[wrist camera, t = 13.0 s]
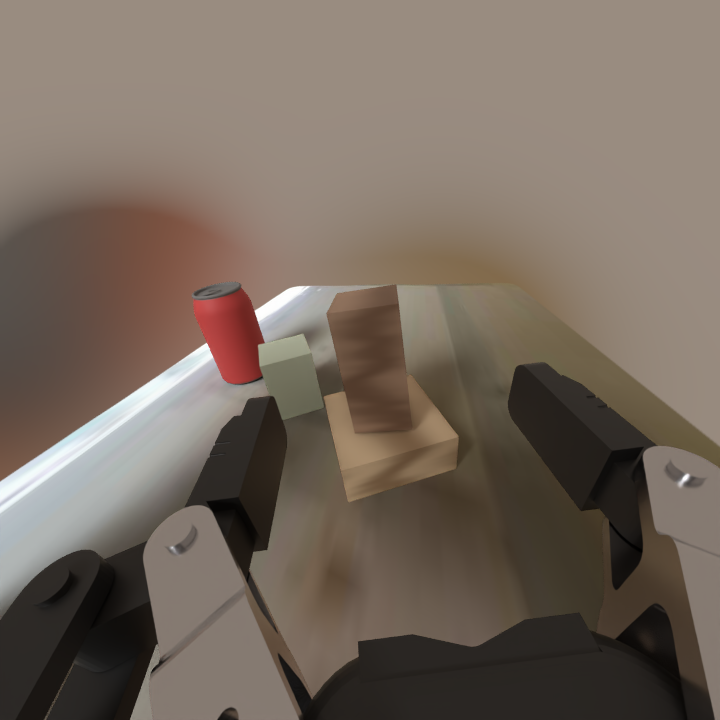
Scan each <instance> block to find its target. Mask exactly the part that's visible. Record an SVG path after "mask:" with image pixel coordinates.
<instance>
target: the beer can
mask: <svg viewBox="0 0 720 720" xmlns="http://www.w3.org/2000/svg"><path fill="white" fill-rule="evenodd" d="M192 298H194V312H195V317H196V319H197V321H198V324H199V326H200V328H201V330H202V333H203V335H204V337H205V339H206V341H207V344H208V346H209V348H210V351H211V353H212V355H213V357H214V360H215V362H216V364H217V366H218V369H219V371H220V373H221V375H222V378H223V379H224V380H225V381H226V382H228V383H231V384H245V383H250V382H252V381H255V380H257V379H259V378H261V377H262V376H263V375H262V372H261V369H260V366H259V350H258V345H260V344H264V343H265V342H264V339H263V336H262V333H261V330H260V327H259V324H258V321H257V318H256V315H255V312H254V309H253V306H252V303H251V300H250V299H249V297H248V295H247V294H246V293H245V292H244V290H243V289H242V288H241V284H240V283H238V282H225V283H219V284H214V285H210V286H207V287H204V288H201V289H199V290H197V291H195V292H194V293H193V294H192Z"/></svg>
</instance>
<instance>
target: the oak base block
mask: <svg viewBox="0 0 720 720" xmlns="http://www.w3.org/2000/svg"><path fill="white" fill-rule="evenodd" d="M407 384H408V393H409V402H410V411H411V420H412V429H409V430H395V431H382V432H369V433H356V434H355V432H354V428H353V424H352V419H351V415H350V411H349V407H348V403H347V398H346V394H345V391H342V392H338V393H334V394H330V395H326V396H323V397H324V401H325V406H326V410H327V414H328V419H329V423H330V427H331V432H332V436H333V440H334V444H335V449H336V453H337V457H338V461H339V466H340V470H341V474H342V478H343V483H344V487H345V491H346V495H347V499H348V502H351V501H354V500H357V499H361V498H364V497H367V496H370V495H374V494H377V493H380V492H383V491H386V490H390V489H393V488H396V487H399V486H402V485H406V484H409V483H412V482H415V481H418V480H422V479H425V478H428V477H431V476H434V475H438V474H441V473H444V472H447V471H450V470H454V469H456V466H457V453H458V441H459V436H458V435H457V434H456V433H455V431H454V430H453V429H452V427H451V426H450V425H449V423H448V422H447V421H446V419H445V418H444V417H443V416H442V414H441V413H440V412H439V410H438V409H437V408H436V406H435V405H434V404H433V403H432V401H431V400H430V399H429V397H428V396H427V395H426V393H425V392H424V391H423V389H422V388H421V387H420V386H419V384H418V383H417V382H416V380H415V379H414V378H413V376H412V375H407Z"/></svg>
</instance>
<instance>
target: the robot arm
mask: <svg viewBox="0 0 720 720" xmlns="http://www.w3.org/2000/svg"><path fill="white" fill-rule="evenodd" d="M508 409H509V413H510V416H511V418H512V420H513V421H514V422H515V424H516V425H517V426H518V428H519V429H520V430H521V432H522V433H523V434H524V436H525V437H526V438H527V440H528V441H529V442H530V444H531V445H532V446H533V448H534V449H535V450H536V452H537V453H538V454H539V456H540V457H541V458H542V460H543V461H544V462H545V464H546V465H547V466H548V468H549V469H550V470H551V472H552V473H553V475H554V476H555V477H556V479H557V480H558V481H559V483H560V484H561V485H562V487H563V488H564V489H565V491H566V492H567V493H568V495H569V496H570V497H571V499H572V500H573V501H574V503H575V504H576V505H577V507H578V508H579V509H580V511H584V510H592V509H599V508H600V510H601V511H602V512H603V513H604V515H605V517H604V519H603V522H602V539H603V571H604V598H603V604H602V607H601V610H600V613H599V618H598V624H597V633H596V632H593V631H589V629H588V627H587V626H586V624H585V622H584V620H583V619H582V617H581V615H580V613H573V614H565V615H558V616H550V617H542V618H535V619H527V620H524V621H522V622H520V623H518V624H517V625H515V626H513V627H511V628H509V629H508V630H506V631H504V632H502V633H501V634H499V635H497V636H495V637H494V638H492V639H490V640H488V641H486V642H485V643H483V644H481V645H479V646H476V647H469V646H464V645H459V644H454V643H450V642H445V641H441V640H436V639H431V638H427V637H422V636H417V635H413V634H412V635H404V636H397V637H389V638H381V639H374V640H366V641H358V650H359V657H357V658H356V659H354V660H352V661H350V662H348V663H347V664H346V665H344V666H343V667H342V668H340V669H339V670H338V671H336V672H335V673H334V674H333V675H332V676H331V677H330V678H329V679H328V680H327V681H326V682H325V683H324V685H323V686H322V687H321V688H320V690H319V691H318V692H317V694H316V695H315V696H314V697H313V695H312V693H311V691H310V689H309V687H308V685H307V683H306V681H305V679H304V677H303V675H302V673H301V671H300V669H299V667H298V665H297V663H296V661H295V659H294V657H293V655H292V654H291V652H290V650H289V648H288V647H287V645H286V643H285V641H284V639H283V637H282V635H281V633H280V631H279V629H278V627H277V625H276V623H275V621H274V619H273V617H272V614H271V612H270V610H269V608H268V606H267V604H266V602H265V600H264V598H263V596H262V594H261V592H260V589H259V587H258V585H257V583H256V581H255V579H254V577H253V575H252V573H251V571H250V569H249V568H250V563H251V559H252V554H253V552H255V551H262V550H267V548H268V543H269V538H270V532H271V527H272V522H273V516H274V511H275V506H276V501H277V495H278V490H279V485H280V480H281V474H282V469H283V464H284V459H285V453H286V448H287V435H286V430H285V426H284V423H283V420H282V417H281V414H280V411H279V408H278V406H277V403H276V400H275V398H274V397H273V396H267V397H259V398H251V399H248V401H247V403H246V405H245V408H244V410H243V412H242V415H241V416H234V417H233V418H232V419H231V420H230V421H229V422H228V423H227V424H226V425H225V426H224V427H223V428H222V429H221V432H220V434H219V436H218V438H217V440H216V442H215V446H213V449H212V451H211V453H210V458H208V459H207V461H206V463H205V466H204V468H203V470H202V472H201V474H200V476H199V478H198V480H197V483H196V485H195V487H194V489H193V491H192V493H191V495H190V497H189V500H188V502H187V504H186V506H185V508H183V509H181V510H179V511H177V512H175V513H174V514H172V515H171V516H169V517H168V518H167V519H166V520H164V521H163V522H162V523H161V524H160V525H159V526H158V527H157V528H156V530H155V531H154V532H153V533H152V535H151V536H150V538H149V540H148V541H146V542H144V543H142V544H139V545H137V546H135V547H132V548H130V549H128V550H125V551H123V552H121V553H118V554H116V555H114V556H111V557H109V558H107V559H103V558H102V557H101V556H99V555H98V554H97V553H96V552H94V551H92V550H80V551H76V552H73V553H70V554H68V555H66V556H64V557H62V558H60V559H58V560H57V561H55V562H54V563H52V564H51V565H49V566H48V567H46V568H45V569H44V570H43V571H41V572H40V573H39V574H38V575H37V576H36V577H35V578H34V579H33V580H31V581H30V583H29V584H28V585H27V586H26V587H25V588H24V589H23V590H22V592H21V593H20V594H19V595H18V597H17V598H16V599H15V601H14V602H13V604H12V605H11V606H10V608H9V609H8V610H7V612H6V613H5V615H4V616H3V617H2V619H1V620H0V720H44V718H45V716H46V714H47V712H48V710H49V708H50V706H51V704H52V702H53V700H54V698H55V697H56V695H57V693H58V691H59V689H60V687H61V685H62V683H63V681H64V679H65V677H66V675H67V673H68V671H69V669H70V667H71V665H72V663H74V666H73V668H72V670H71V672H70V674H69V676H68V678H67V680H66V682H65V684H64V686H63V688H62V690H61V692H60V694H59V696H58V698H57V700H56V702H55V704H54V706H53V708H52V710H51V712H50V714H49V716H48V718H47V720H130V718H131V715H132V712H133V709H134V706H135V703H136V700H137V698H138V695H139V692H140V689H141V686H142V683H143V680H144V678H145V675H146V672H147V669H148V666H149V663H150V660H151V658H152V655H153V652H154V649H155V646H156V645H157V644H158V645H159V651H160V660H159V664H158V665H156V666H155V667H154V668H153V670H152V672H151V675H150V682H149V693H150V702H151V709H152V716H153V720H720V468H718V467H717V466H716V465H714V464H712V463H711V462H709V461H708V460H706V459H704V458H702V457H700V456H698V455H696V454H693V453H691V452H688V451H685V450H682V449H678V448H674V447H668V446H657V445H656V444H654V443H653V442H652V441H651V440H649V439H648V438H647V437H646V436H645V435H643V434H642V433H641V432H640V431H638V430H637V429H636V428H635V427H634V426H632V425H631V424H630V423H629V422H627V421H626V420H625V419H624V418H622V417H621V416H620V415H619V414H618V413H616V412H615V411H614V410H613V409H611V408H608V407H607V404H605V403H604V402H603V401H602V400H600V399H599V398H596V397H595V395H594V394H593V393H592V392H591V391H589V390H588V389H587V388H586V387H584V386H583V385H582V384H580V383H578V382H576V381H574V380H572V379H570V378H568V377H566V376H564V375H562V376H561V375H560V374H559V373H557V372H556V371H555V370H554V369H553V368H551V367H550V366H549V365H548V364H546V363H544V362H540V363H532V364H524V365H519V366H517V367H516V369H515V372H514V376H513V381H512V386H511V390H510V395H509V400H508Z"/></svg>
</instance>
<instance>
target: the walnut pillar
mask: <svg viewBox="0 0 720 720" xmlns="http://www.w3.org/2000/svg"><path fill="white" fill-rule="evenodd" d="M327 318H328V322H329V326H330V331H331V335H332V339H333V343H334V348H335V352H336V356H337V360H338V365H339V369H340V373H341V377H342V381H343V386H344V390H345V394H346V398H347V403H348V407H349V411H350V415H351V419H352V424H353V428H354V432H355V434H356V433H369V432H382V431H395V430H409V429H412V420H411V411H410V402H409V393H408V384H407V375H406V366H405V357H404V348H403V339H402V330H401V321H400V312H399V303H398V295H397V287H396V285H390V286H383V287H377V288H370V289H363V290H357V291H350V292H344V293H337V294H336V296H335V298H334V300H333V302H332V304H331V306H330V308H329V310H328V312H327Z"/></svg>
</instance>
